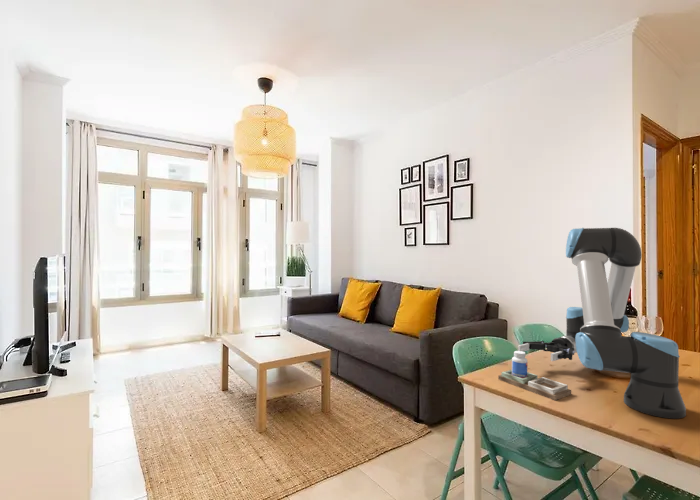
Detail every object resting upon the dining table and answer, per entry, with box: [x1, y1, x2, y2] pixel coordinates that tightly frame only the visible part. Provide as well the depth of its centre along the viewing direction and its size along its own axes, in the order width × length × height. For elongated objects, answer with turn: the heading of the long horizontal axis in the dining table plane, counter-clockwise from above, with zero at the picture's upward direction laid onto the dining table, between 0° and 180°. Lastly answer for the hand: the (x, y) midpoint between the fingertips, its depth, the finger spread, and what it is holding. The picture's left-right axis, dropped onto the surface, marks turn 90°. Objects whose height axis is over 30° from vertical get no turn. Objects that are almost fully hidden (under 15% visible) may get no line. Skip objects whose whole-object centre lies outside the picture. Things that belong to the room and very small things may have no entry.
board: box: [497, 369, 572, 401], centre depth 131 cm, size 22×10×3 cm, turn 31°
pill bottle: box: [511, 350, 528, 378], centre depth 136 cm, size 6×5×10 cm
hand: (534, 352), depth 141 cm, fingers open, 13 cm apart
